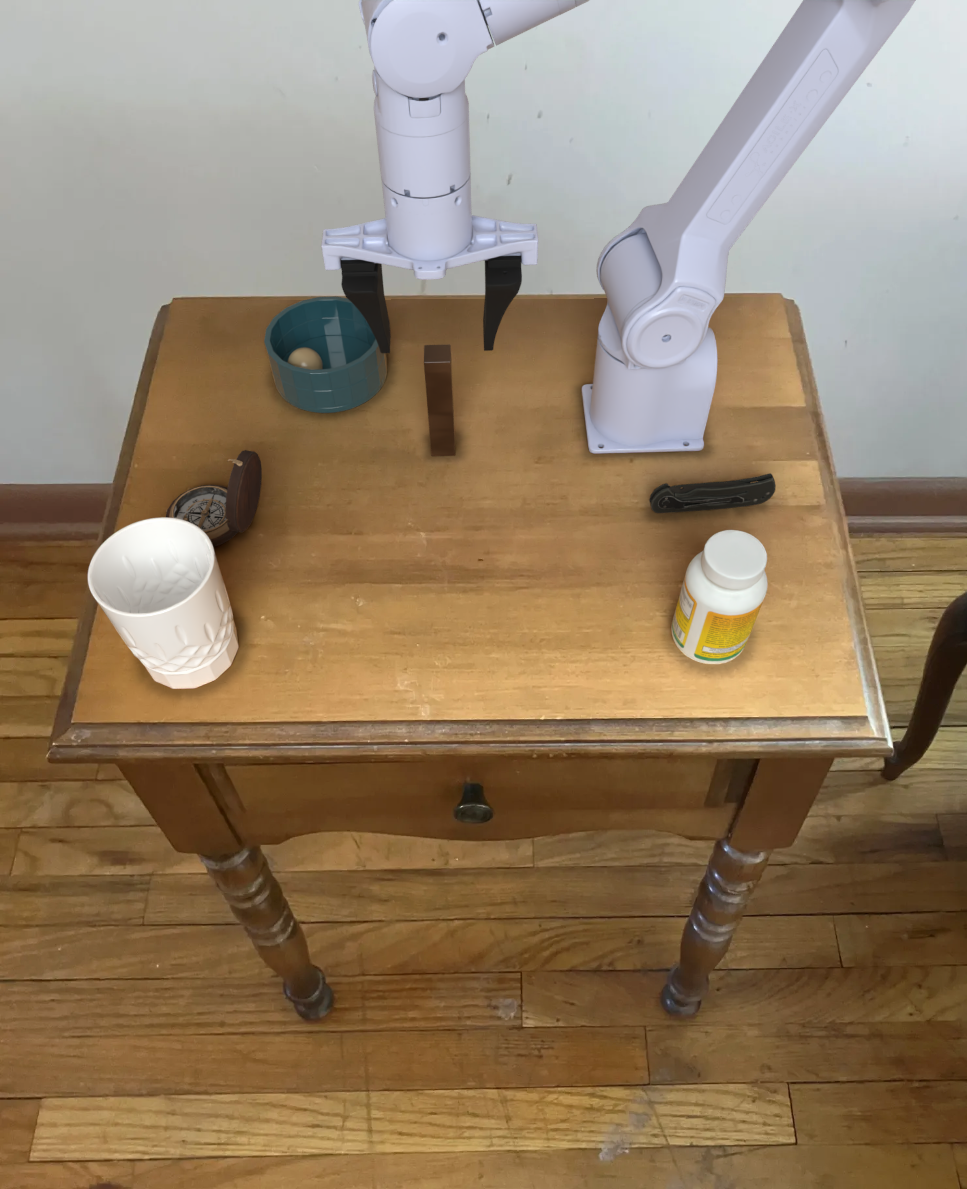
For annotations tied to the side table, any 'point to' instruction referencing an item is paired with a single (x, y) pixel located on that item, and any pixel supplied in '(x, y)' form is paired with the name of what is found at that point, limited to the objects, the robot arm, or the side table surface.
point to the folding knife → (712, 495)
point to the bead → (305, 359)
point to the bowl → (325, 355)
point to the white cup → (167, 600)
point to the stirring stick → (440, 399)
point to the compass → (223, 501)
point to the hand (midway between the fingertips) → (436, 343)
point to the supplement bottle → (720, 598)
